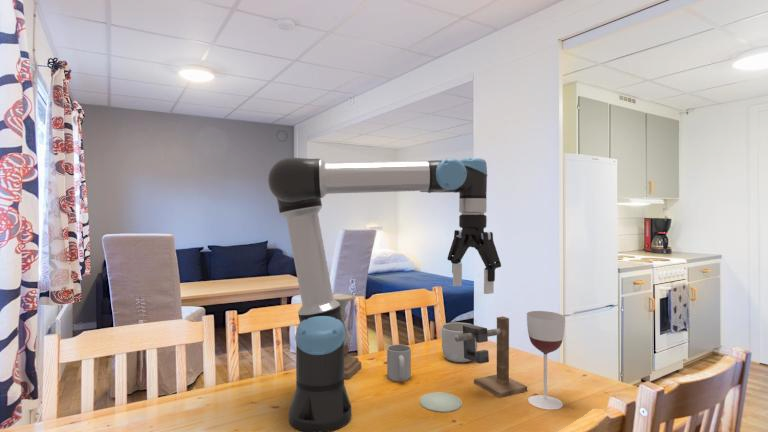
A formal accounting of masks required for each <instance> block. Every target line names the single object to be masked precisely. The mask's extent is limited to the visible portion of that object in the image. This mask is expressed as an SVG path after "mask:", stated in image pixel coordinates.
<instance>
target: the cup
mask: <svg viewBox="0 0 768 432" xmlns="http://www.w3.org/2000/svg"><path fill="white" fill-rule="evenodd" d="M386 352H387V353H386V377H387V379H389V381H390V380H391V381H392V382H399V383H400V382H406V381H409V380H410V378H411V376H412V360H411V359H412V356H411V355H412V348H411V346H410V345H406V344H391V345H388V346H387V347H386Z"/></svg>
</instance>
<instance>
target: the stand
mask: <svg viewBox="0 0 768 432" xmlns="http://www.w3.org/2000/svg"><path fill="white" fill-rule="evenodd" d="M487 335H488V338H489V337H495V336H496V374H492V375H487V376H482V377H477V378H474V379H473V383H474V384H475V385H476V386H479V387H480V388H482V389H484V390H485V391H487V392H488V393H491V394H492V395H494V396H496V397H498V398H499V399H500V398H504V397H508V396H511V395H512V396H513V395H517V394H520V393H525V392H528V386H527V385H524V384H523V383H521V382H518V381H517V380H514V379H512V378H511V377H510V318H509V317H506V316H497V317H496V328H492V329H487ZM471 339H476V338H475V334H473V333H465V334H458V335H455V341H456V342H458V341H464V340H471Z"/></svg>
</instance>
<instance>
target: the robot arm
mask: <svg viewBox="0 0 768 432" xmlns="http://www.w3.org/2000/svg"><path fill="white" fill-rule="evenodd" d="M267 182H268V187H269V190H270V192H271V193H272V195H273V196H274V197H275V198H276V201H277V207H278V211H279V212H278V213H279V215H280V216H282V217H284V219H285V220H286V223H287V230H288V234H289V239H290V245H291V251H292V256H293V261H294V265H295V266H294V267H295V272H296V277H297V278H296V279H297V284H298V289H299V295H300V298H301V299H300V301H301V306H300V308H299V310H298V311H297V314H298V319H299V320H298V321H299V324H298V325H297V327H296V329H295V330H296V331H295V332H296V333H295V335H294V338H295V344H296V345H295V349H296V350H295V352H296V353H295V354H296V355H295V364H296V365H295V366H296V367H295V368H296V369H295V373H296V374H295V384H296V385H295V389H294V390H295V391H294V393H293V395H292V396H293V397H292V400H291V403H290V406H289V409H288V422H289V424H290V426H292V427H293V428H295V430H298V431H301V432H331V431H334V430H337V429H340V428H342V427H344V426H345V425H347V424H348V423H349V422H350V421H351V419H352V405H351V402H350V401H351V400H350V397H349V395H348V392H347V389H346V385H345V379H344V345H345V336H346V328H347V326H346V321H345V322H344V320H343V318H342V313H341V307H340V303H339V302H338V301H336V300H335V299H334V298H333V294H332V293H333V290H332V285H331V278H330V273H329V269H328V262H327V261H328V260H327V256H326V251H325V246H324V240H323V235H322V230H321V229H322V228H321V222H320V217H319V212H320V211H321V210H322V207H323V204H322V199H323V198H325V196H326V195H328V194H329V195H330V194H359V193H361V194H362V193H363V194H364V193H391V192H394V193H397V192H399V193H400V192H420V193H429V194H430V193H457V194H458V193H459V198H458V199H459V200H458V201H459V202H458V206H459V207H458V212H459V213H461V214H459V216H458V221H459V223H458V225H459V228H461V229H460V230H459V229H458V230H457V229H455V230H454V232H453V240H452V243H451V246H450V250H449V252H448V254H447V260H448V261H450V262H451V265H452V267H451V268H452V269H451V272H452V286H453V287H460V286H462V285H463V268H462V267H463V263H462V259H463V258H464V256H465V254H466V252H467V251H468V249H469V248H474V249H475V250H476V251H477V252H478V254H479V256H480V259H481V261H482V262H483V264H484V266H485V268H484V269H483V294H485V295H490V294H494V287H495V285H494V282H495V280H496V269H499V268H501V267H502V263H501V260H500V258H499V253H498V250H497V248H496V246H495V241H494V234H493V232H492V231H485V229H486V228H487V222H488V221H487V220H488V219H487V215H486V213H487V190H488V189H487V187H488V186H487V185H488V166H487V162H486V159H484V158H481V157H480V158H479V157H475V158H474V157H472V158H471V157H469V158H468V157H467V158H462V159H460V160H459V159H457V158H452V157H451V158H445V159H442V160H438V159H437V160H402V161H401V160H396V161H393V160H392V161H357V162H356V161H353V162H352V161H351V162H350V161H345V162H341V161H340V162H326V161H325V160H323V158H302V157H291V156H290V157H285V158H282V159H280V160H278V161H277V162H275V163H274V164H273V165H272V166H271V168H270V171H269V173H268V177H267Z"/></svg>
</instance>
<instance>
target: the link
mask: <svg viewBox="0 0 768 432" xmlns="http://www.w3.org/2000/svg"><path fill="white" fill-rule="evenodd" d="M487 330H488V328H487V327H483V326H479V325H474V324H473V325H464V326H463V334H465V333H473V334H475V338H476V342H477V344H478V343H479V344H481V343H486V342H488V341H489V339H488V338H489V337H488V335H487ZM463 343H464V358H465V359H468V360H471V361H472V362H474V363H477V364H480V365H481V364H485V363H489V362H490V358H489V350H487V349H482V350H477V351H476V350H475V339H471V340H464V341H463ZM471 361H470V362H471Z"/></svg>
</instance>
